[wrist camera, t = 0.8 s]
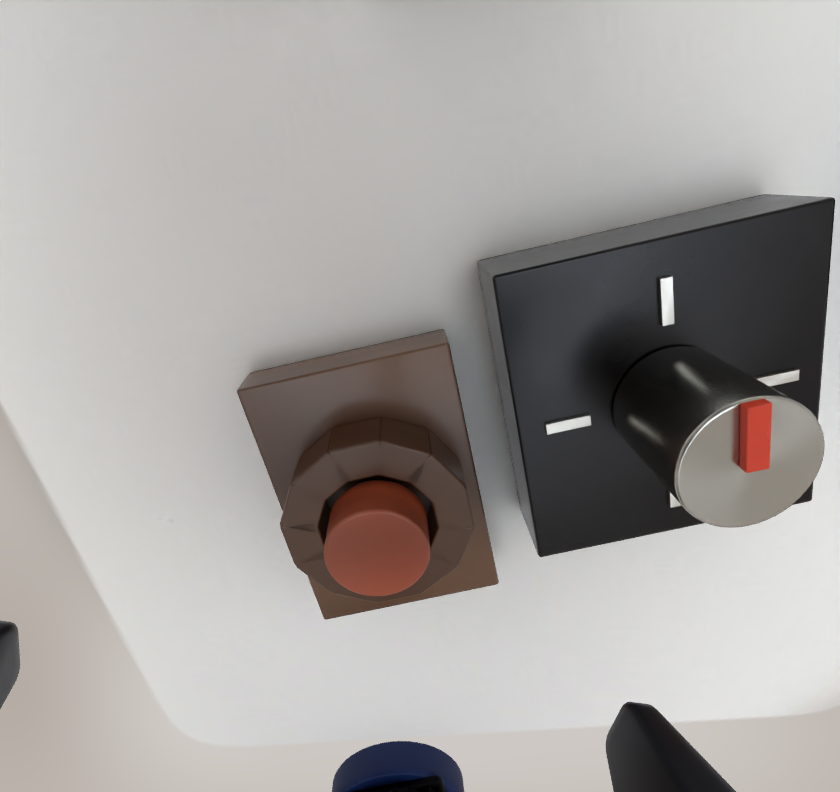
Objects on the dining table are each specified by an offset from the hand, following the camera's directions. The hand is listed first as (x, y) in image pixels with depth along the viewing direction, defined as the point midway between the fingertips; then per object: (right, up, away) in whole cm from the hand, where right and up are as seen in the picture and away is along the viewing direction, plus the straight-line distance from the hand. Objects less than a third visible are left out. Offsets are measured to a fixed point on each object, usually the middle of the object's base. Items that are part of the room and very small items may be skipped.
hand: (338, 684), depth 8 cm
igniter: (0, +1, +12) cm, 13 cm away
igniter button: (0, 0, +10) cm, 10 cm away
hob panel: (+9, +5, +11) cm, 15 cm away
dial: (+9, +4, +9) cm, 13 cm away
